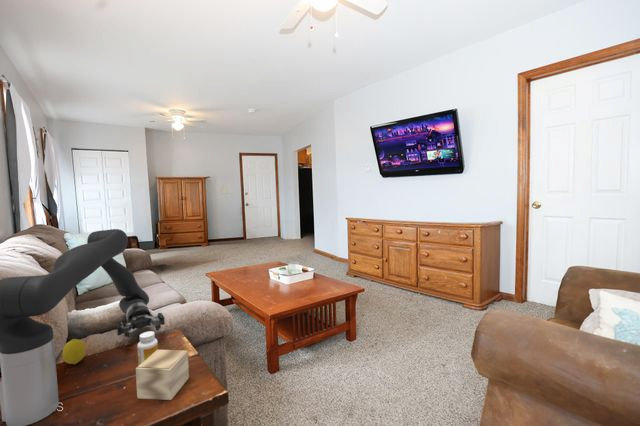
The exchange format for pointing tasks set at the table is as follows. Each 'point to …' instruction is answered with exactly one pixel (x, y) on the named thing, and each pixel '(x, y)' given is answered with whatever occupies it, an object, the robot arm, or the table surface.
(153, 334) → the supplement bottle
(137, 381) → the maple block
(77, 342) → the lemon
